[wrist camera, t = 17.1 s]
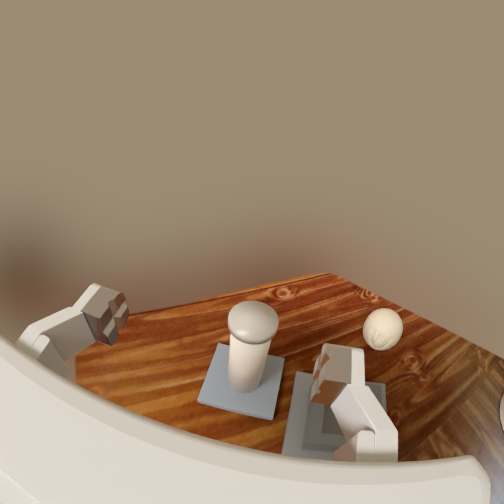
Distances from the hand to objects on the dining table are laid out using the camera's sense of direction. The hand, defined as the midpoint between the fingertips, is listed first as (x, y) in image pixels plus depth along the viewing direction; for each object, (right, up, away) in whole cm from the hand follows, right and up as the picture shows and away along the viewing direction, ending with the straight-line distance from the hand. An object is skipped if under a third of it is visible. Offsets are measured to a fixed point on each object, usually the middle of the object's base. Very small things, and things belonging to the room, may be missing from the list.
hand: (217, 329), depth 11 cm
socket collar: (+13, -20, +22) cm, 33 cm away
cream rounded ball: (+22, -13, +34) cm, 43 cm away
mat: (0, -15, +27) cm, 31 cm away
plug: (0, -14, +26) cm, 30 cm away
